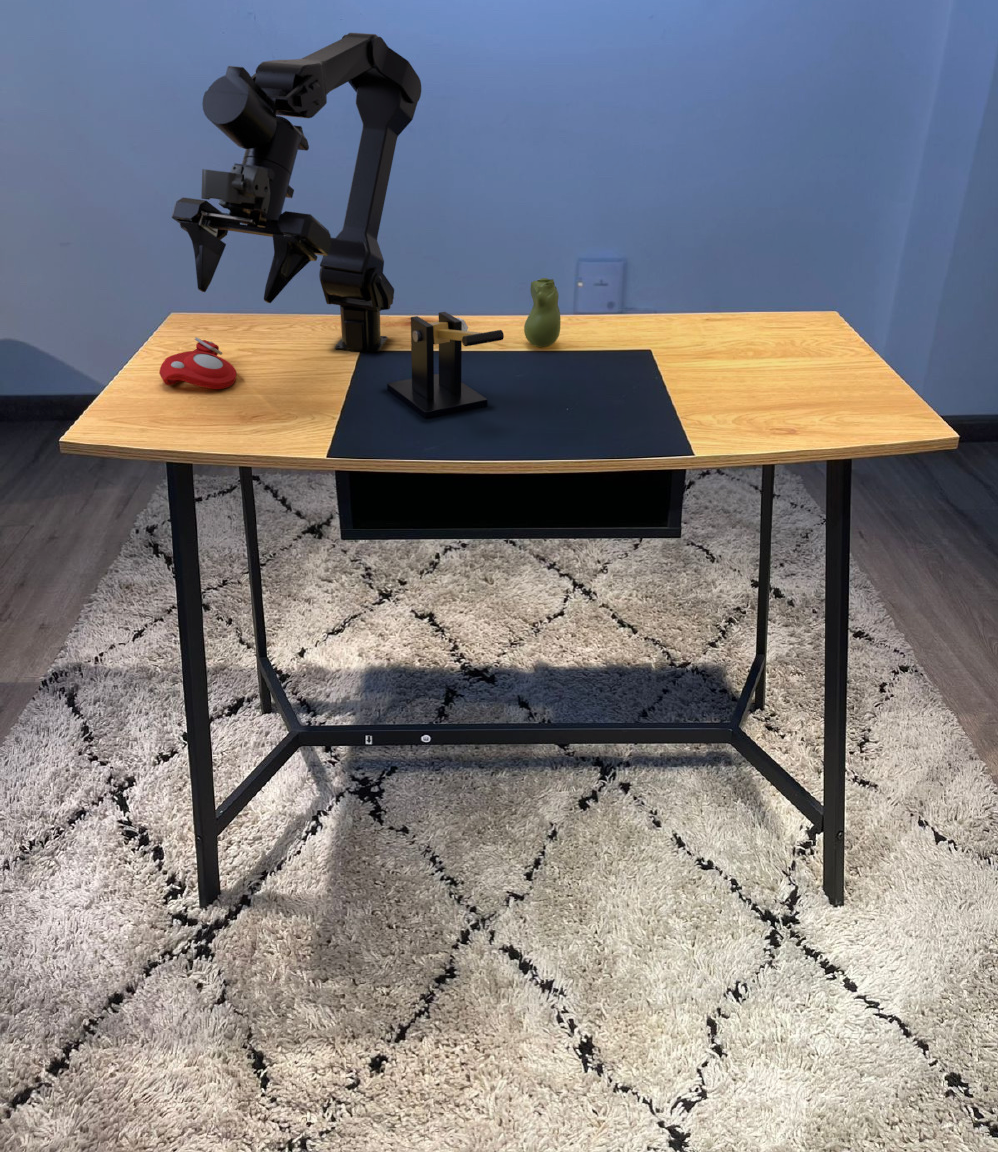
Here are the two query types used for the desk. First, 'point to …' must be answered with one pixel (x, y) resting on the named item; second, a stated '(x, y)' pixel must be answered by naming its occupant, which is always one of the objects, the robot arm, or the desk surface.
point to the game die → (463, 325)
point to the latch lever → (463, 335)
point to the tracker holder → (199, 367)
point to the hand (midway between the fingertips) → (233, 296)
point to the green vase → (543, 314)
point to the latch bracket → (435, 390)
